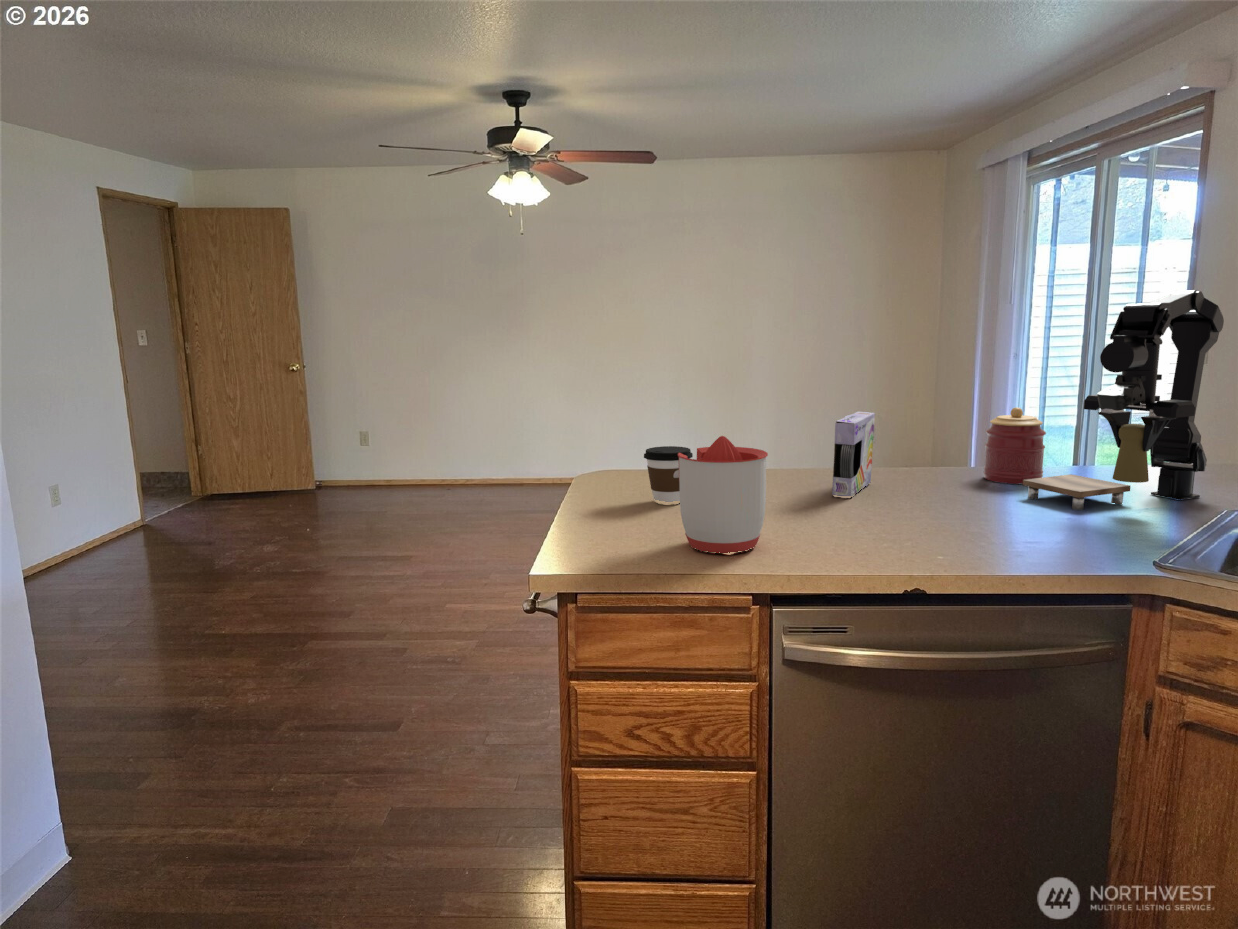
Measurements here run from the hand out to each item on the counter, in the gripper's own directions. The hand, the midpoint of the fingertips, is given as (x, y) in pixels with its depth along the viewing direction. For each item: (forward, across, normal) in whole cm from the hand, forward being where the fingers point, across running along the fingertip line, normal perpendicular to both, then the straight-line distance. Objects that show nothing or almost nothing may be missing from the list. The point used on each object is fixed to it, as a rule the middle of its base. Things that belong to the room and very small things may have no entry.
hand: (1132, 449), depth 153 cm
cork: (+6, 0, 0) cm, 6 cm away
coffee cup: (+12, -50, -77) cm, 93 cm away
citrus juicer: (+12, -14, -84) cm, 86 cm away
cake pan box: (+13, -42, -34) cm, 55 cm away
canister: (+13, -35, +7) cm, 38 cm away
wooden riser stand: (+13, -12, 0) cm, 17 cm away
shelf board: (+10, -12, 0) cm, 16 cm away
